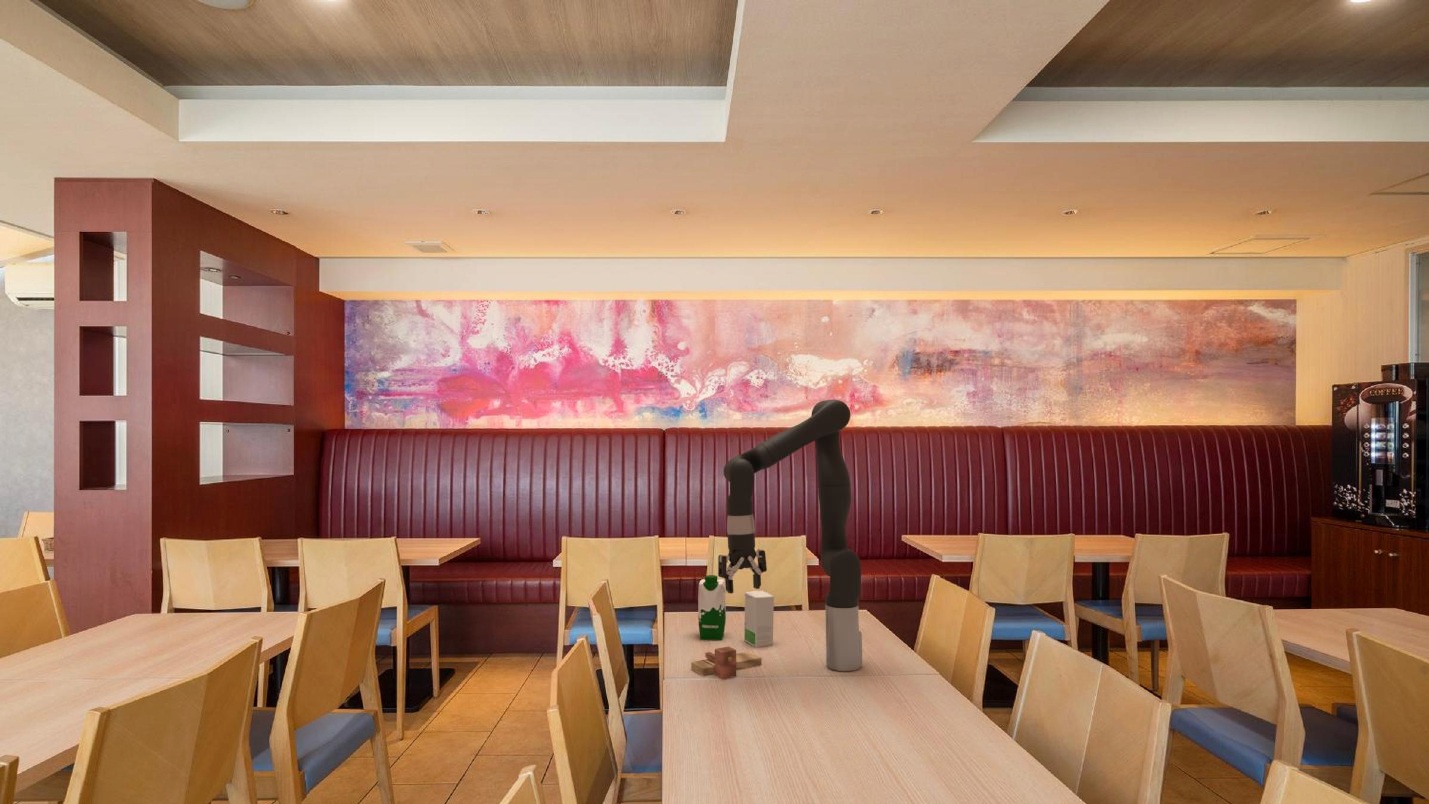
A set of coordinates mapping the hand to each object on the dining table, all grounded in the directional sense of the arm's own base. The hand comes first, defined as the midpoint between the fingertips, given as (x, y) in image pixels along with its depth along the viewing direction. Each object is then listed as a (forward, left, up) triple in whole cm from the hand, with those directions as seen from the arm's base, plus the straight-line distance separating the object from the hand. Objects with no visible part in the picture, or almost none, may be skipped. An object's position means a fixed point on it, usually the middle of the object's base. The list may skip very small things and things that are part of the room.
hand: (743, 590), depth 202 cm
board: (0, -9, -23) cm, 24 cm away
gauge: (+4, -6, -23) cm, 24 cm away
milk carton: (-12, -38, -23) cm, 46 cm away
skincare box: (-21, -24, -23) cm, 39 cm away
